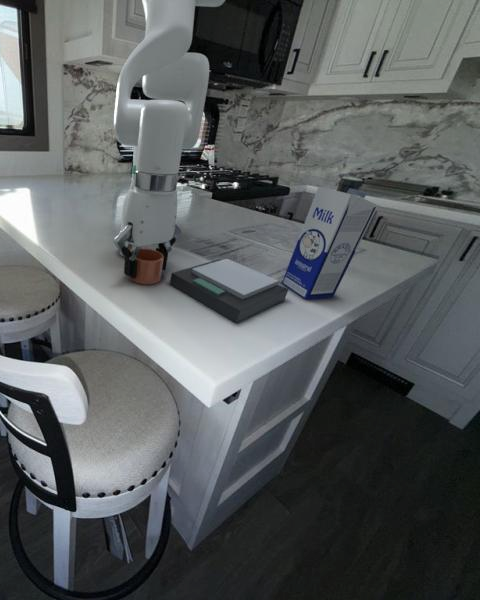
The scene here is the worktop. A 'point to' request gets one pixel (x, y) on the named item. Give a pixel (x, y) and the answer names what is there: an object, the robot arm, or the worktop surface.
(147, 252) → the flower pot
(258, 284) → the kitchen scale
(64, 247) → the worktop surface
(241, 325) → the worktop surface
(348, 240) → the milk carton
